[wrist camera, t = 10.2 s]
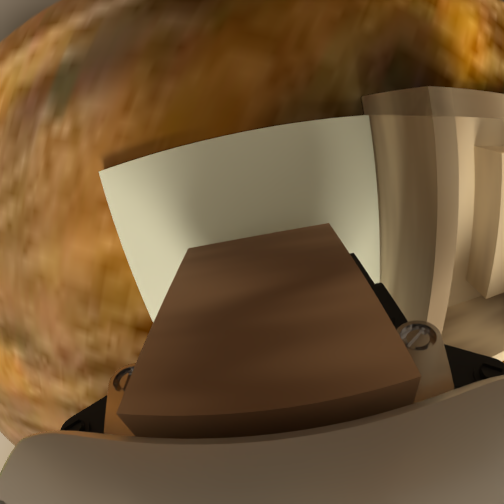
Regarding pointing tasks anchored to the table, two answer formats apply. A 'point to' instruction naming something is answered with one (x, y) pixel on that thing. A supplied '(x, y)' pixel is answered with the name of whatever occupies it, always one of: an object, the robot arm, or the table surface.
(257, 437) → the robot arm
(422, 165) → the birch box
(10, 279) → the table surface
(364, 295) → the walnut block
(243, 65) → the table surface
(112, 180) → the cream square tile
